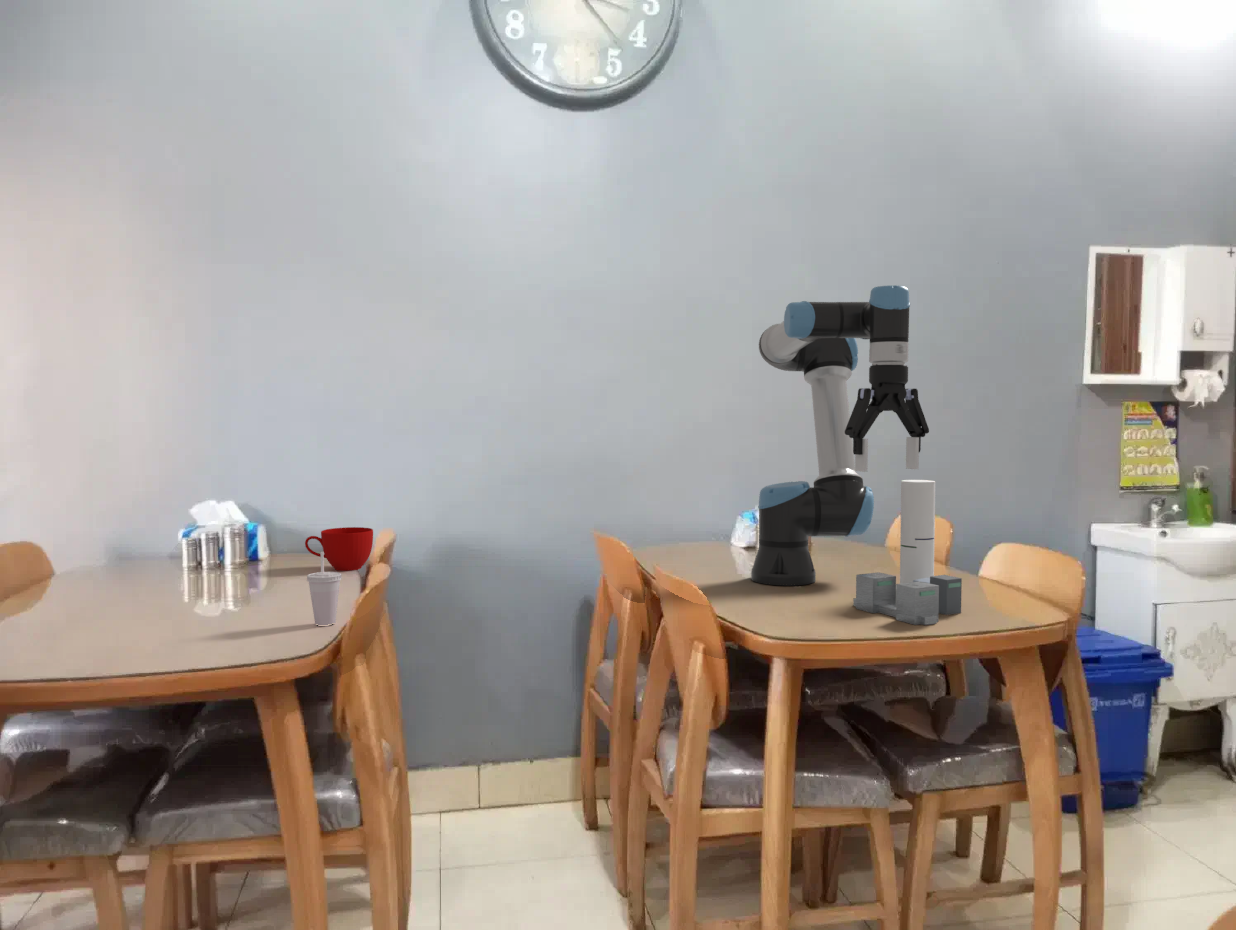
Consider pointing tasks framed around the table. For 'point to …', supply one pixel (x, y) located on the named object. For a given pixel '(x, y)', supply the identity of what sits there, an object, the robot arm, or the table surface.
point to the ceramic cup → (345, 547)
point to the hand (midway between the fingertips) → (887, 470)
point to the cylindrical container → (917, 530)
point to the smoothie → (324, 594)
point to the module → (948, 593)
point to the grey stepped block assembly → (897, 598)
